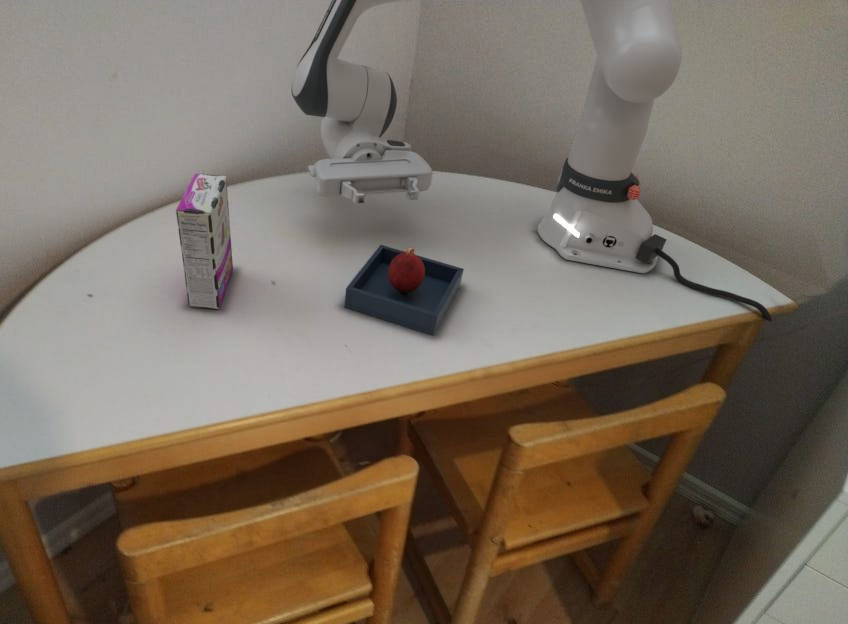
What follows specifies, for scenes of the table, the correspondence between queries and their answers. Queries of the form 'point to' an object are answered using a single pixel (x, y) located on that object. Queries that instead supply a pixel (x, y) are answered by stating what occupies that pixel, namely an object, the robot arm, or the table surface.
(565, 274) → the table surface
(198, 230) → the candy bar box
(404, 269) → the onion
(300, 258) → the table surface
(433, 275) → the tray
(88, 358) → the table surface
